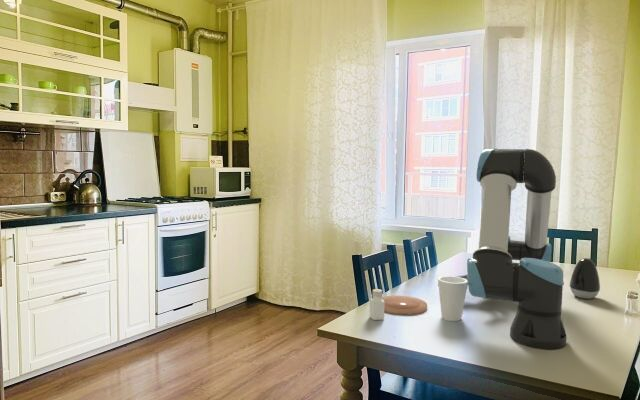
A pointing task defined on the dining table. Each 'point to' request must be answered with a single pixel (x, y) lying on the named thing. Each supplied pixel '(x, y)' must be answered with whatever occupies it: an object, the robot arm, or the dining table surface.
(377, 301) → the pepper shaker
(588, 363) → the dining table surface
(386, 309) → the terracotta plate
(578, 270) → the dark grey egg shape
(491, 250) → the robot arm
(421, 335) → the dining table surface
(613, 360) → the dining table surface
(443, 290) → the foam cup
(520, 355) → the dining table surface
